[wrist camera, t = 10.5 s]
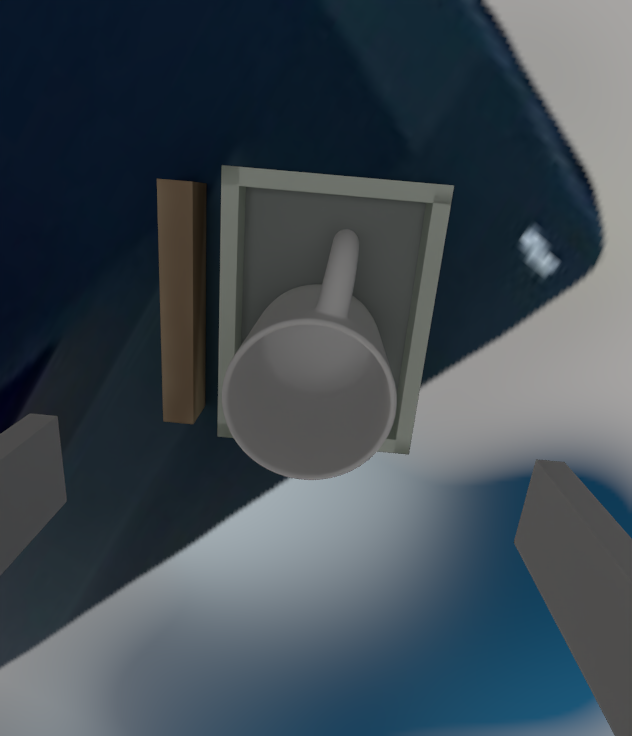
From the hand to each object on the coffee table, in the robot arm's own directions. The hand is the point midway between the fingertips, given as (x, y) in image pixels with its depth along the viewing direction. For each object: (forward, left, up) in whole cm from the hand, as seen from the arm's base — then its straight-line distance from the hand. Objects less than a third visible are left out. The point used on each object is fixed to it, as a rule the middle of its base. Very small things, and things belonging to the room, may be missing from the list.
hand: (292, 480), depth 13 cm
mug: (0, 0, -20) cm, 20 cm away
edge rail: (-9, 0, -20) cm, 21 cm away
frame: (0, 0, -20) cm, 20 cm away
